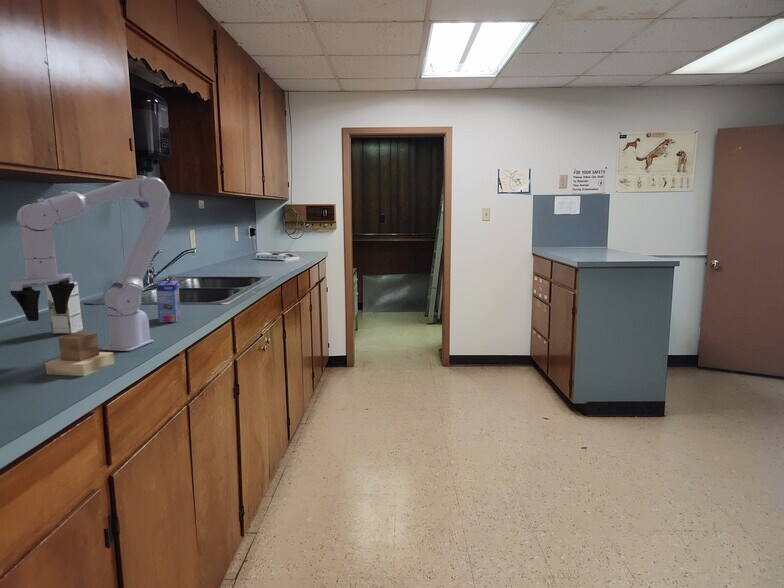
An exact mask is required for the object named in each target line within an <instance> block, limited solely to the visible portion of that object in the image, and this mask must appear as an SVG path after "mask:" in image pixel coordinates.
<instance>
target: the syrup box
mask: <svg viewBox="0 0 784 588" xmlns="http://www.w3.org/2000/svg"><path fill="white" fill-rule="evenodd" d="M69 283H74V285H75V287H74V289H73V290H72V292H71V295H70V297H69V301H68V305H67V311H66V314H56V311H55V307H54V301H53V297H52V295H51V292H50V290H49V288H48V286H47V285H46V286H45V292H46V300H47V304H48V305H47V306H48V312H49V320H50V321H49V322H50V328H51V334H52V335H70V334H74V333H77V332H81V331H82V330H84V327H83V320H82V311H81V303H80V293H79V286H78V281H72V282H69Z"/></svg>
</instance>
